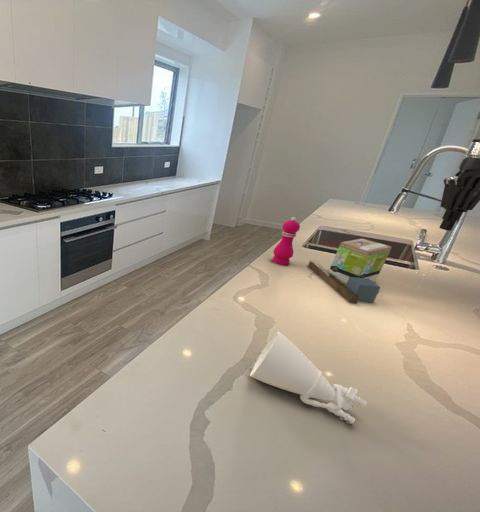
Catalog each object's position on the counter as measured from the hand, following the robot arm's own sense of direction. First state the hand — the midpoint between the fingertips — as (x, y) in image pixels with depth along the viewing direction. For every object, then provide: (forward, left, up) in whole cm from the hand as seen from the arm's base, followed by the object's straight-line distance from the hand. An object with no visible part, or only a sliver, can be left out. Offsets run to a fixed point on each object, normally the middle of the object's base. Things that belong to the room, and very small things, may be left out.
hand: (444, 229), depth 102 cm
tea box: (0, +22, -23) cm, 31 cm away
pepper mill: (+11, +43, -23) cm, 50 cm away
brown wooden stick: (-5, +32, -22) cm, 39 cm away
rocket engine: (-66, +67, -23) cm, 97 cm away
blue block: (-15, +28, -22) cm, 39 cm away
